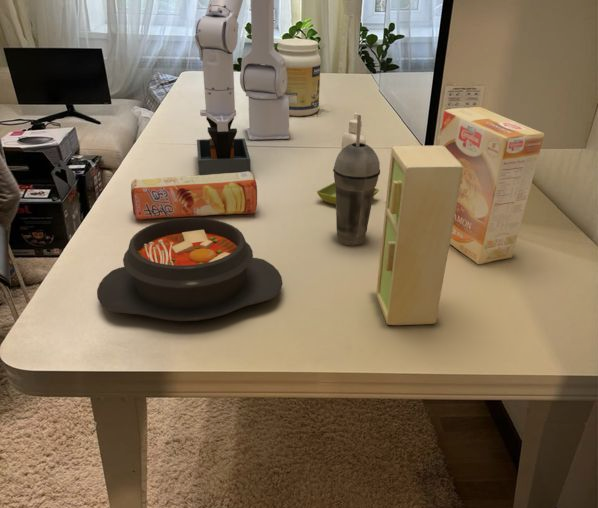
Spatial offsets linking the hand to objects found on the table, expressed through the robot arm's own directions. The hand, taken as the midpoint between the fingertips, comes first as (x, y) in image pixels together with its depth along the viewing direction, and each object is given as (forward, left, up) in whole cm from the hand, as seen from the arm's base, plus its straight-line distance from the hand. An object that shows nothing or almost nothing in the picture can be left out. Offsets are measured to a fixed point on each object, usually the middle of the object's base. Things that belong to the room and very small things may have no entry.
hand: (222, 157), depth 123 cm
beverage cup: (-19, +36, -2) cm, 41 cm away
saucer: (-22, +20, -2) cm, 30 cm away
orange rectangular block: (0, 0, -2) cm, 2 cm away
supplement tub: (-22, -43, -2) cm, 48 cm away
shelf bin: (0, 0, -2) cm, 2 cm away
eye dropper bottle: (-26, +6, -2) cm, 27 cm away
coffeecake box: (-38, +39, -2) cm, 55 cm away
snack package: (+6, +23, -2) cm, 24 cm away
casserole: (+7, +51, -2) cm, 52 cm away
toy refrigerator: (-21, +58, -2) cm, 62 cm away
